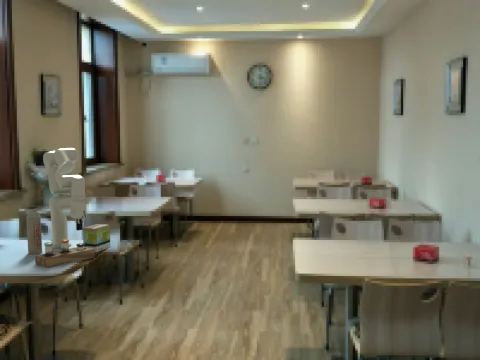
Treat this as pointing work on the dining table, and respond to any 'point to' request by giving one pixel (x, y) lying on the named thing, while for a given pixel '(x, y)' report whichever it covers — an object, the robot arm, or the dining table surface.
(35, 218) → the thermos bottle
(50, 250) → the plug
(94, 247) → the tea box
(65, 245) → the plug mid
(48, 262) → the socket block
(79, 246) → the plug
